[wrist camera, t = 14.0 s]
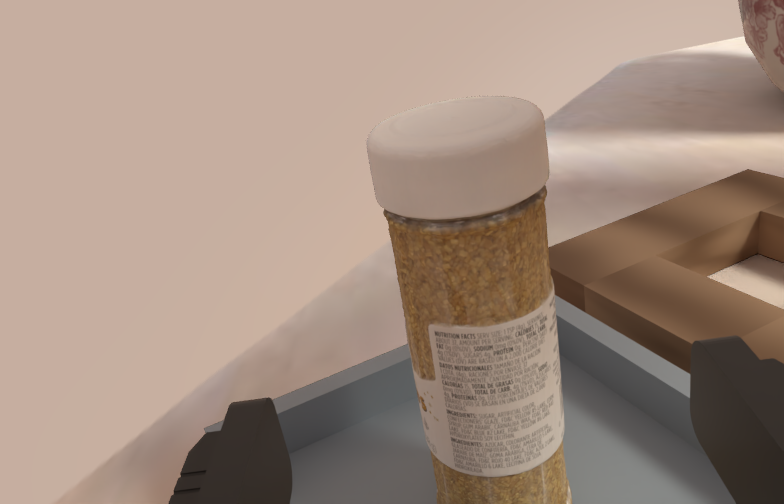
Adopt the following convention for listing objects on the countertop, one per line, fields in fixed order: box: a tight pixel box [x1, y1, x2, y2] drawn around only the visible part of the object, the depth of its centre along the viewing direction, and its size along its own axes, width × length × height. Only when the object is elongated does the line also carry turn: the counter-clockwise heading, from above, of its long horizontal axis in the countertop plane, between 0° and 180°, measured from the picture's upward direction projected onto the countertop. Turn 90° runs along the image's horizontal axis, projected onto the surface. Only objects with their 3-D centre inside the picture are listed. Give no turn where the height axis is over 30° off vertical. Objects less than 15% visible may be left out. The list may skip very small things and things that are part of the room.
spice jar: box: [367, 96, 572, 504], centre depth 20 cm, size 5×5×13 cm
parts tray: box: [204, 295, 736, 504], centre depth 23 cm, size 16×16×3 cm
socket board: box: [548, 169, 784, 374], centre depth 32 cm, size 16×16×2 cm
